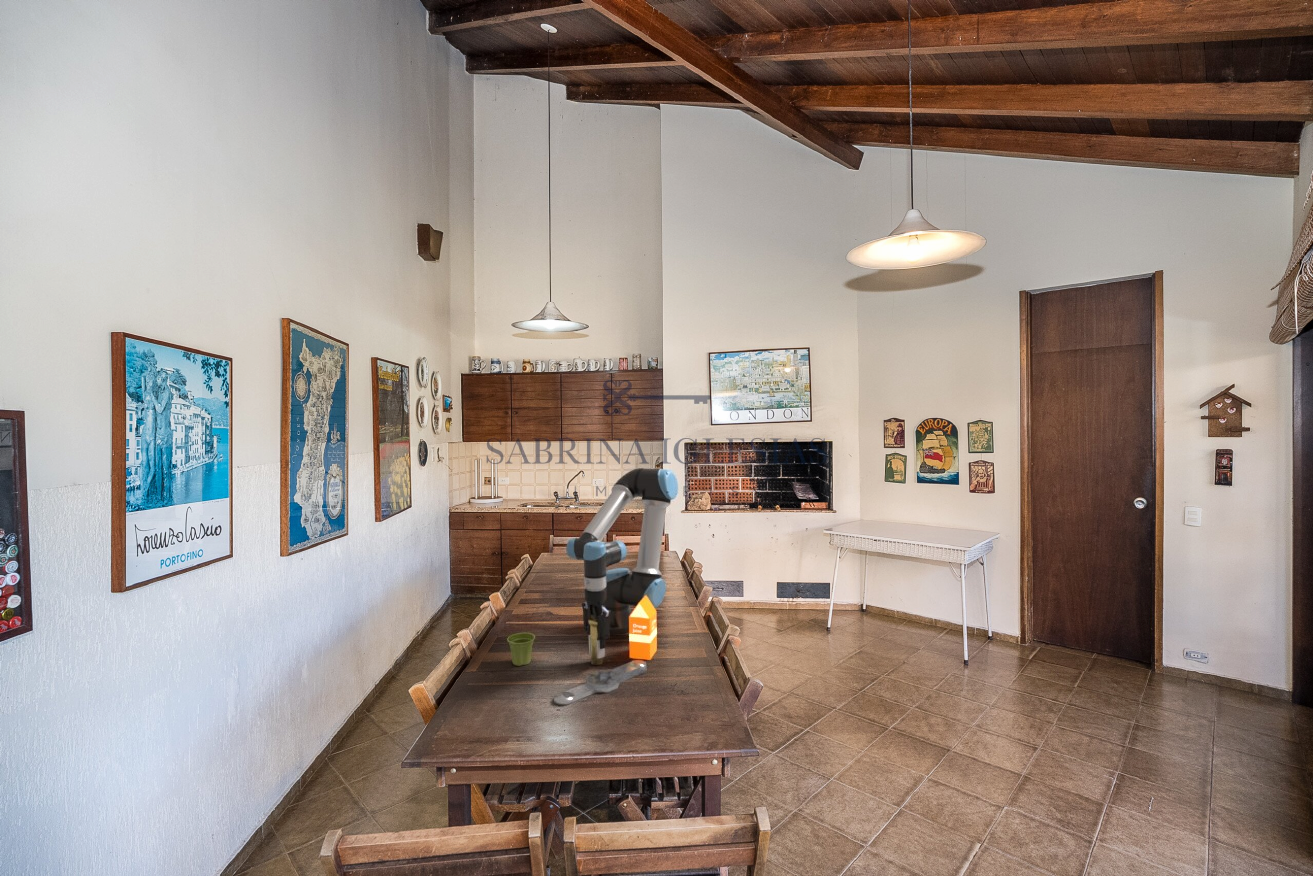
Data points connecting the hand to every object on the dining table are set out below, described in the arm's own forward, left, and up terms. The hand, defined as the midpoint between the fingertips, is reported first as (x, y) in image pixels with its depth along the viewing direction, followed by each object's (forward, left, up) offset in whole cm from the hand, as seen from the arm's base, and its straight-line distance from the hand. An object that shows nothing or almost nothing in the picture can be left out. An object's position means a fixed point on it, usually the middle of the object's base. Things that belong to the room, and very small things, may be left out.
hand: (596, 655), depth 202 cm
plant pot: (-19, -18, -3) cm, 26 cm away
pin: (0, 0, -3) cm, 3 cm away
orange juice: (+5, +17, -3) cm, 18 cm away
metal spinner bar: (+14, -8, -3) cm, 17 cm away
